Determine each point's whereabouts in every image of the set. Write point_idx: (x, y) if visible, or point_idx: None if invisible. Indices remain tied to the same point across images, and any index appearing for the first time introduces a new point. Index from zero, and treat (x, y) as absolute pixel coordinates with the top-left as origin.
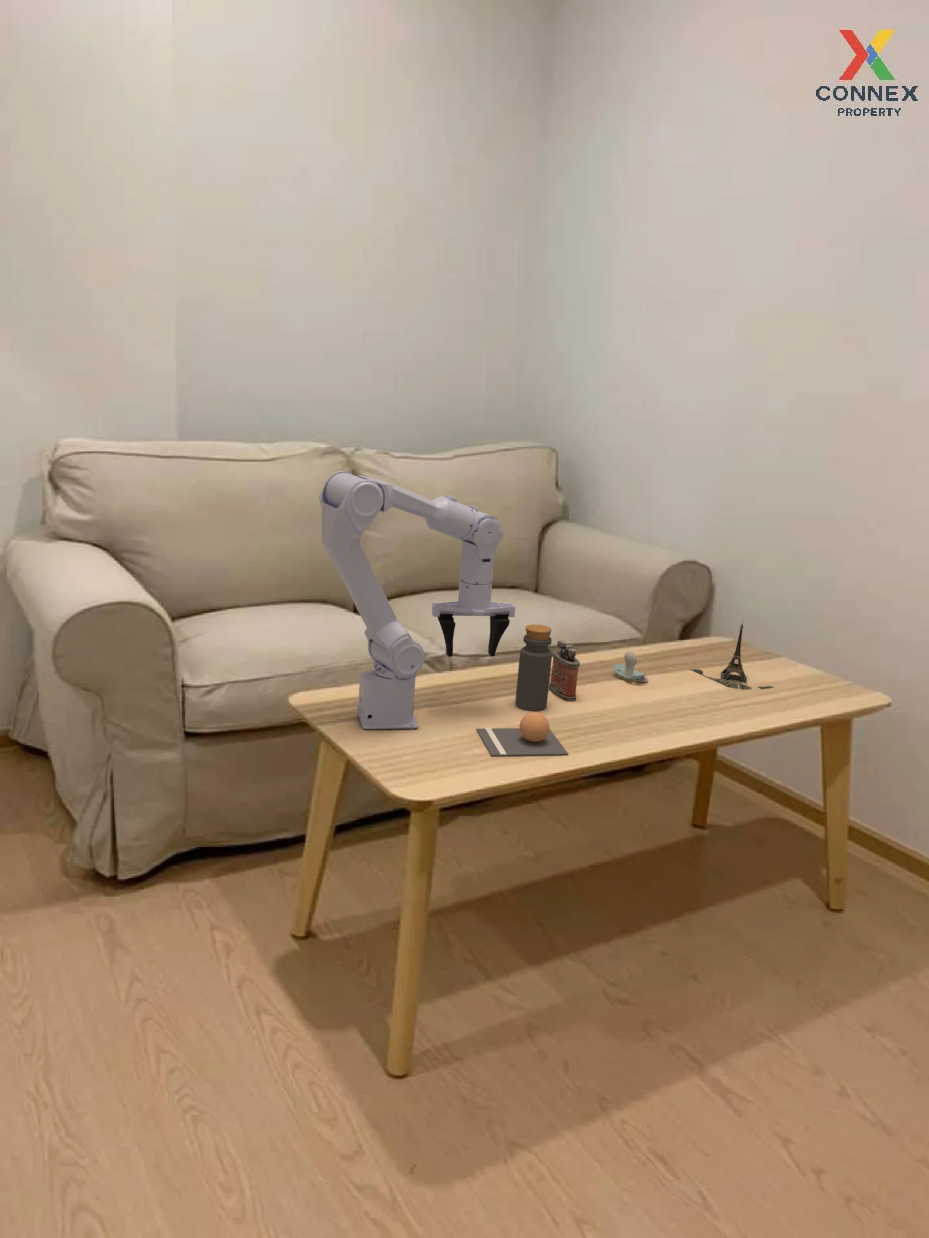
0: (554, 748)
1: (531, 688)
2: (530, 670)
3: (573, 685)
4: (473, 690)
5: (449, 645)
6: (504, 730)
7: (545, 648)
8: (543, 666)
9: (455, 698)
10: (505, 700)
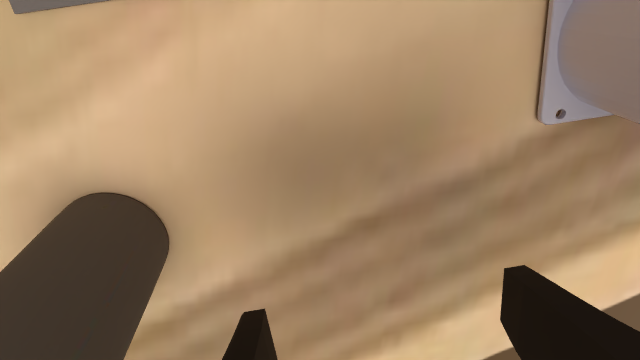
0: None
1: (78, 239)
2: (50, 296)
3: None
4: (301, 321)
5: (583, 304)
6: None
7: None
8: None
9: (364, 256)
10: (203, 266)
